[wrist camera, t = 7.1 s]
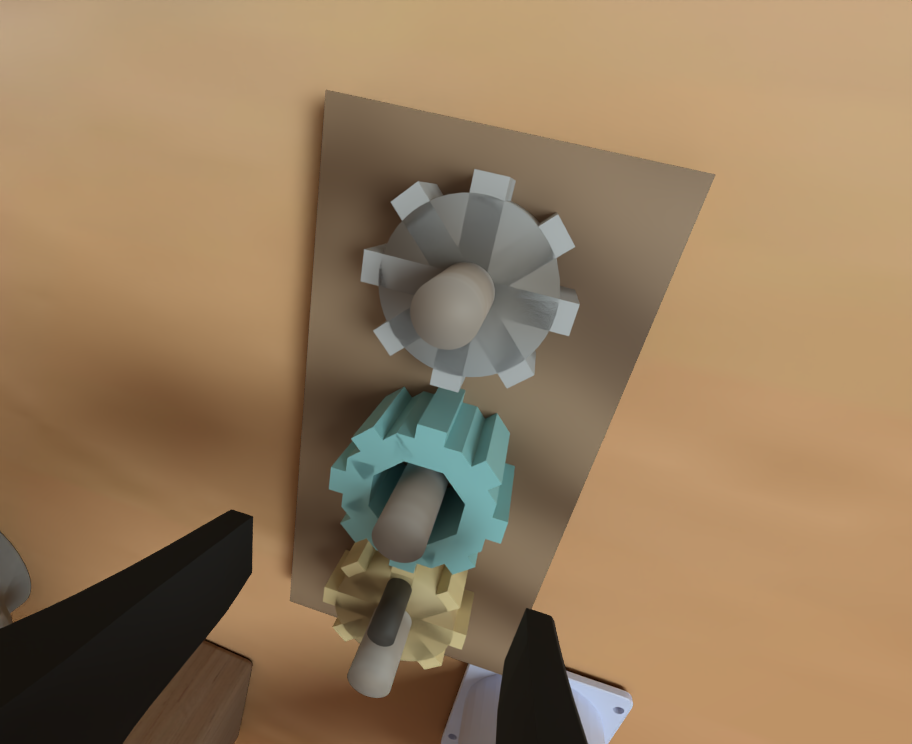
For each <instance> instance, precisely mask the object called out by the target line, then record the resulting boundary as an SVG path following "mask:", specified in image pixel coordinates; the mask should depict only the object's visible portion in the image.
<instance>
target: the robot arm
mask: <svg viewBox="0 0 912 744" xmlns="http://www.w3.org/2000/svg"><path fill="white" fill-rule="evenodd" d="M252 542H253V516H250V515H247V514H244V513H241V512H238V511H235V510H230V511H228V512H226V513H224V514H222V515H221V516H219V517H217V518H215V519H213V520H212V521H210V522H208V523H206V524H205V525H203V526H201V527H200V528H198V529H196V530H194V531H193V532H191V533H189V534H187V535H186V536H184V537H182V538H180V539H179V540H177V541H175V542H173V543H172V544H170V545H168V546H166V547H164V548H163V549H161V550H159V551H157V552H155V553H154V554H152V555H150V556H148V557H146V558H144V559H143V560H141V561H139V562H137V563H135V564H134V565H132V566H130V567H128V568H126V569H124V570H122V571H120V572H118V573H116V574H115V575H113V576H111V577H109V578H107V579H105V580H103V581H101V582H99V583H97V584H95V585H93V586H91V587H89V588H87V589H85V590H83V591H81V592H79V593H77V594H75V595H73V596H71V597H69V598H67V599H65V600H63V601H60V602H58V603H56V604H54V605H52V606H50V607H48V608H45V609H43V610H41V611H39V612H37V613H34V614H32V615H30V616H28V617H25V618H23V619H21V620H19V621H16V622H14V623H12V624H10V625H7V626H5V627H2V628H0V744H123V742H124V741H125V740H126V738H127V737H128V735H129V734H130V732H131V731H132V730H133V728H134V727H135V726H136V724H137V723H138V722H139V720H140V719H141V718H142V716H143V715H144V714H145V712H146V711H147V710H148V708H149V707H150V706H151V705H152V703H153V702H154V701H155V700H156V698H157V697H158V696H159V695H160V694H161V692H162V691H163V690H164V689H165V687H166V686H167V685H168V684H169V682H170V681H171V680H172V679H173V678H174V676H175V675H176V674H177V673H178V671H179V670H180V669H181V668H182V666H183V665H184V664H185V663H186V662H187V660H188V659H189V658H190V657H191V655H192V654H193V653H194V652H195V651H196V649H197V648H198V647H199V646H200V644H201V643H202V642H203V641H204V639H205V638H206V637H207V636H208V634H209V633H210V632H211V631H212V629H213V628H214V627H215V626H216V624H217V623H218V622H219V621H220V619H221V618H222V617H223V616H224V614H225V613H226V612H227V610H228V609H229V607H230V606H231V604H232V603H233V601H234V600H235V598H236V597H237V595H238V594H239V592H240V591H241V589H242V587H243V586H244V584H245V583H246V581H247V580H248V578H249V576H250V575H251V573H252ZM632 707H633V701H632V697H631V695H630V694H629V693H628V692H626V691H624V690H621V689H618V688H615V687H613V686H610V685H607V684H604V683H601V682H598V681H595V680H592V679H589V678H586V677H583V676H580V675H578V674H575V673H572V672H569V671H566V669H565V665H564V661H563V657H562V653H561V649H560V645H559V641H558V636H557V632H556V627H555V623H554V620H553V618H552V617H551V616H550V615H547V614H544V613H541V612H538V611H535V610H532V609H529V608H526V609H525V612H524V614H523V617H522V619H521V622H520V624H519V626H518V629H517V631H516V634H515V636H514V638H513V641H512V643H511V646H510V648H509V651H508V653H507V655H506V658H505V660H504V667H503V673H502V675H500V674H497V673H494V672H491V671H489V670H486V669H483V668H480V667H477V666H474V665H471V664H469V663H468V666H467V668H466V671H465V674H464V677H463V680H462V682H461V685H460V688H459V691H458V693H457V696H456V699H455V702H454V704H453V707H452V710H451V713H450V716H449V718H448V721H447V724H446V727H445V729H444V732H443V735H442V739H441V744H608V743H609V741H610V740H611V738H612V737H613V735H614V734H615V732H616V731H617V729H618V728H619V726H620V725H621V723H622V722H623V720H624V719H625V717H626V716H627V714H628V713H629V711H630V710H631V708H632Z"/></svg>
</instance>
